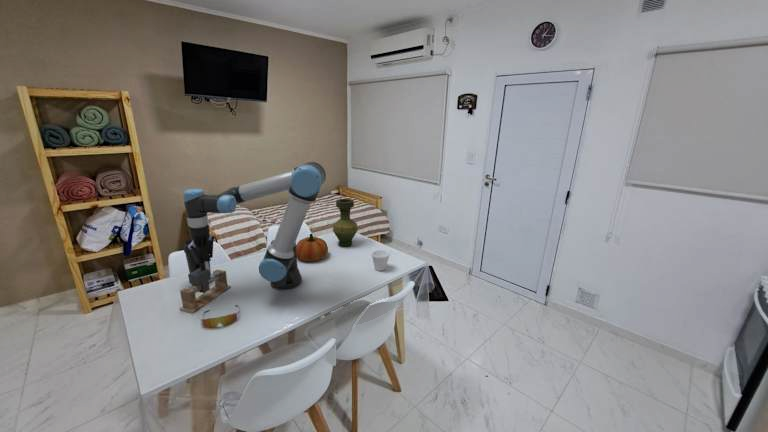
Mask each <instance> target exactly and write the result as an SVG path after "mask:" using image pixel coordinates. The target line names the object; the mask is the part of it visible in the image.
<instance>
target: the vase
mask: <svg viewBox="0 0 768 432" xmlns="http://www.w3.org/2000/svg"><path fill="white" fill-rule="evenodd" d="M335 207H336V208H338V209H339V213H340V216H339V217H340V218H339V219H338V220H337V221H335V222H333V227H332V232H333V233H334V235H335V237H336V238H337V239H338V247H339V248H343V249H344V248H347V249H348V248H351V247H352V246H353V239H354V237H356V236H355V235H356V234H357V232H358V224H357V222H355V221H354V220H353V219H352V218H351V209H352V208H354V207H355V200H354V199H352V198H339V199H336V200H335Z"/></svg>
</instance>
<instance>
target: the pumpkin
mask: <svg viewBox="0 0 768 432" xmlns="http://www.w3.org/2000/svg"><path fill="white" fill-rule="evenodd" d="M296 245H297V246H296V250H297V259H299V260H301V261H304V262H318V261H319V260H322V259H324V258H325V257H326V256H327V254H328V251H329V246H328V243H327V242H326V240H324V239H323V238H320V237H317V236H314V235H313V233H310V234H309V236H308V237H305V238H302V239H300V240H299V241H298V242H296Z"/></svg>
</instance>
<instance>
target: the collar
mask: <svg viewBox="0 0 768 432" xmlns="http://www.w3.org/2000/svg"><path fill="white" fill-rule="evenodd" d="M210 270H211V269H210ZM210 270H207V269H205V270H201V269H200V268H199V269H197V270H195V271H193V272H191V273H190V272H189V273H188V274H187V276H188V280H189V284H191V285H192V284H195V285H202V289H201V290H200V291H199V292H198V293H201V294H203V293H205V292H207V291H208V290H210V289H211V288H210V284H209V282H208V280H210V279H211V277H210Z"/></svg>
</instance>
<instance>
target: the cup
mask: <svg viewBox="0 0 768 432" xmlns="http://www.w3.org/2000/svg"><path fill="white" fill-rule="evenodd" d="M370 256H371V258H372V263H373V267H374V270H375V271H378V272H383V271H385V270H386V268H387V265H388V260H389V258H390V252H389V251H387V250H383V249H376V250H374V251H372V252H371V254H370Z"/></svg>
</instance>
